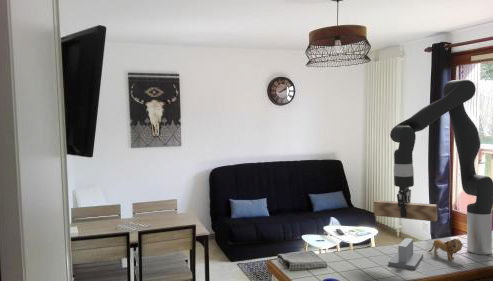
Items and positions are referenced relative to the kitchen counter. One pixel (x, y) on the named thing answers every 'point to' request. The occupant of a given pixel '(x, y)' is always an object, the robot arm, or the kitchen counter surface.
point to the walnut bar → (413, 210)
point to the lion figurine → (447, 247)
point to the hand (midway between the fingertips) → (404, 215)
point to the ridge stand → (406, 256)
